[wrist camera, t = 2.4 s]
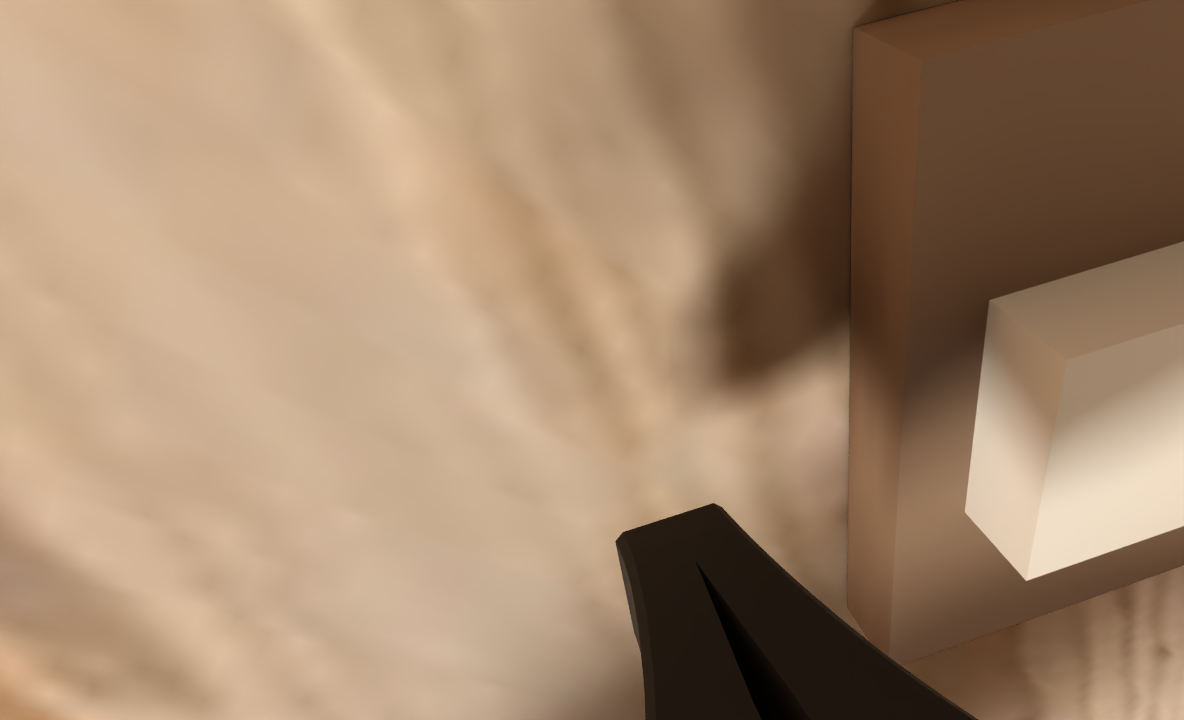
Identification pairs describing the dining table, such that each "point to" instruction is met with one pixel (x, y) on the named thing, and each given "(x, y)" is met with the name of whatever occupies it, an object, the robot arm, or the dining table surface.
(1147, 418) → the offwhite tile
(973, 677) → the dining table surface
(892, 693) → the robot arm
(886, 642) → the walnut board
